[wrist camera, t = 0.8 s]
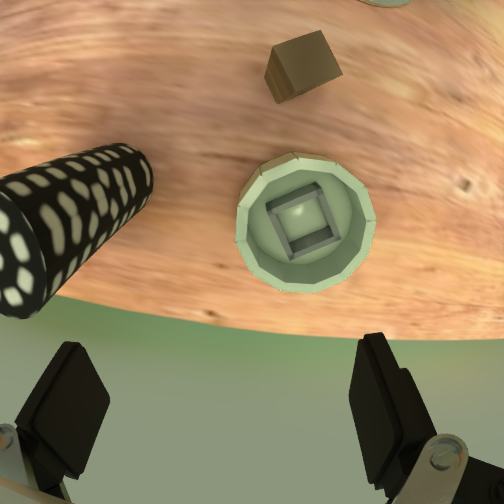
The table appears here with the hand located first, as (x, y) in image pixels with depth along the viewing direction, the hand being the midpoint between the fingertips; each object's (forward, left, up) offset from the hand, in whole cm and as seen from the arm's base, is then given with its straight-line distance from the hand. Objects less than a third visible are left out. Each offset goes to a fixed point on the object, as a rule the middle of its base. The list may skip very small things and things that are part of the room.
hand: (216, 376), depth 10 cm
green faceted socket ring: (-5, +5, -25) cm, 26 cm away
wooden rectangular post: (-9, -8, -25) cm, 28 cm away
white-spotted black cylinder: (+11, -7, -25) cm, 28 cm away
